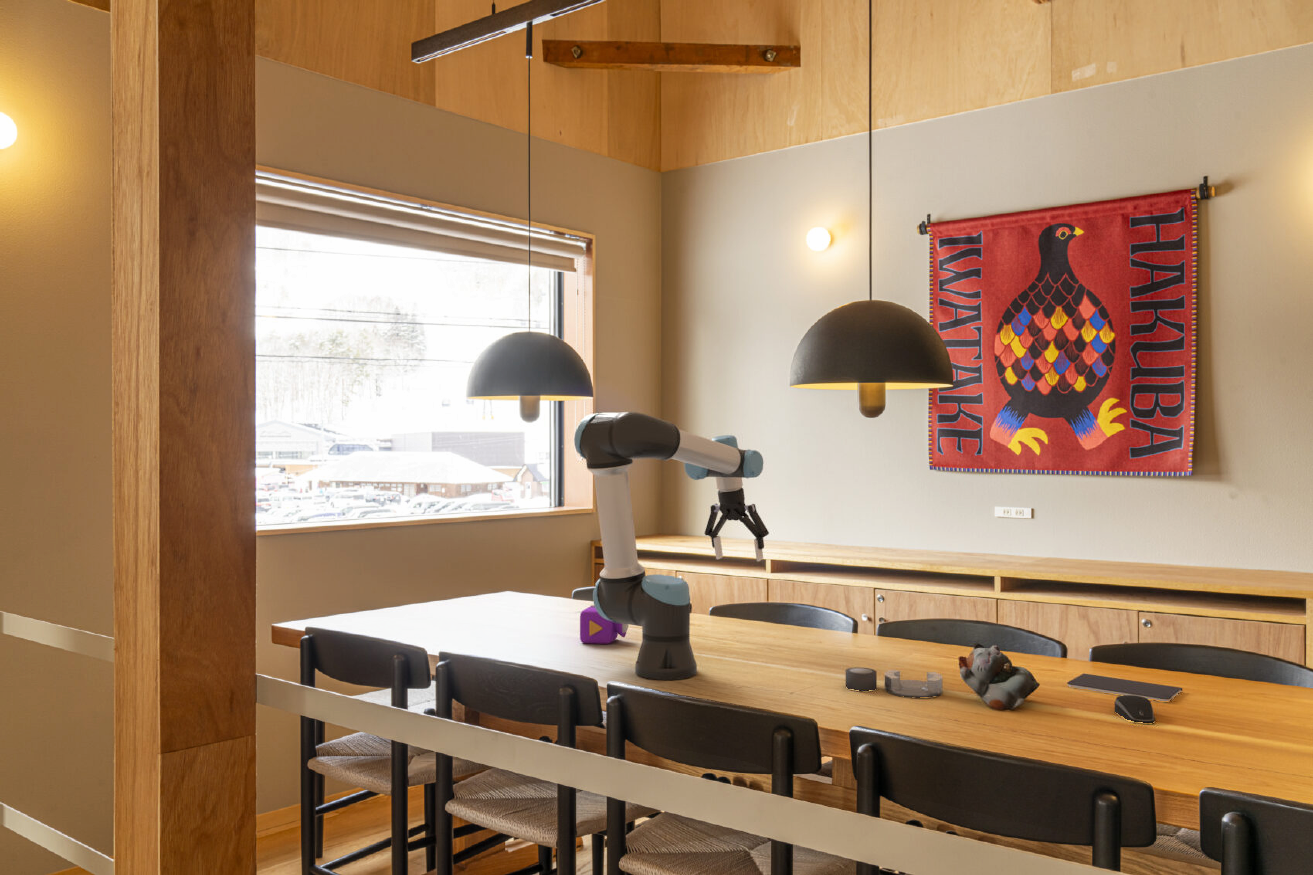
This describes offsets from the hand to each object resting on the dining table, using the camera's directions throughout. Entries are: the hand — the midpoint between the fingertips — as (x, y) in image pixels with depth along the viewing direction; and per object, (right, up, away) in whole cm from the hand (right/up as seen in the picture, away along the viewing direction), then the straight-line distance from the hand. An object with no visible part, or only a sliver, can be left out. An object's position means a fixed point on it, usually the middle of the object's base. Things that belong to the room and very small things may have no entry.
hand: (739, 559), depth 277 cm
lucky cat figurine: (+50, -22, -73) cm, 91 cm away
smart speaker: (+23, -22, -59) cm, 67 cm away
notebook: (+82, -23, -62) cm, 105 cm away
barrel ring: (+34, -22, -62) cm, 74 cm away
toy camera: (-39, -23, -6) cm, 46 cm away
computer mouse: (+74, -22, -82) cm, 113 cm away
